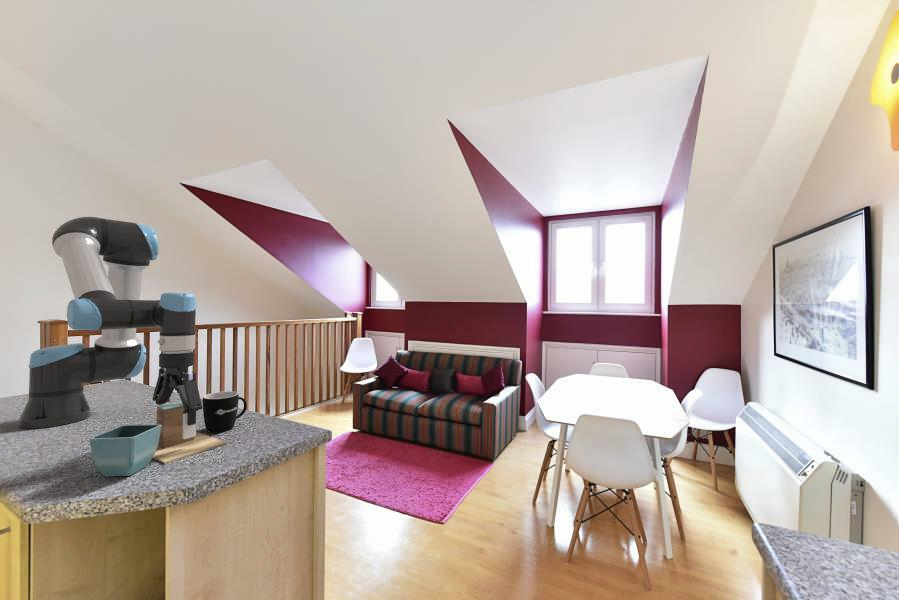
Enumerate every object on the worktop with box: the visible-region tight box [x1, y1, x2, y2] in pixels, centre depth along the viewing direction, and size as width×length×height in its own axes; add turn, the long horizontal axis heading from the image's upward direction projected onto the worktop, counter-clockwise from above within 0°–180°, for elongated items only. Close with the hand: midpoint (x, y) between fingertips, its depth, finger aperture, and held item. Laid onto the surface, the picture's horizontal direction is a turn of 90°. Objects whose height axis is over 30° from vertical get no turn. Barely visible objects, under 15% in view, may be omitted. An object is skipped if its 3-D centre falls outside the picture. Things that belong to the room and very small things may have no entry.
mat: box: [151, 431, 228, 465], centre depth 94 cm, size 18×14×1 cm
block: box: [155, 401, 194, 449], centre depth 95 cm, size 4×7×10 cm, turn 151°
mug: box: [202, 390, 248, 434], centre depth 108 cm, size 12×9×10 cm
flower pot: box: [89, 424, 162, 477], centre depth 80 cm, size 9×9×9 cm
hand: (175, 432), depth 95 cm, fingers open, 13 cm apart
